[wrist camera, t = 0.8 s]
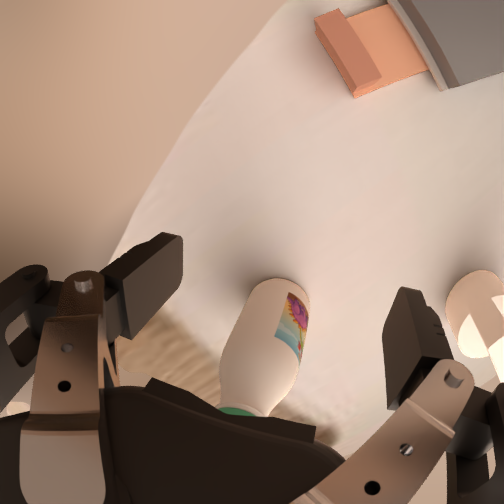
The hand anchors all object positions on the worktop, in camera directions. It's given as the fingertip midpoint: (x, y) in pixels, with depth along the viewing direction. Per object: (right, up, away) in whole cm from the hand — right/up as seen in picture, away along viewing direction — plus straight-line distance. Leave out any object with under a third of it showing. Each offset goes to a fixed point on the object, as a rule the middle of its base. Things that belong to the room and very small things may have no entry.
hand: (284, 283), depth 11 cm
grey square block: (+20, +25, +8) cm, 33 cm away
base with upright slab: (+27, -5, +21) cm, 35 cm away
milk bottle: (+2, -5, +28) cm, 28 cm away
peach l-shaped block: (+16, +23, +10) cm, 30 cm away
